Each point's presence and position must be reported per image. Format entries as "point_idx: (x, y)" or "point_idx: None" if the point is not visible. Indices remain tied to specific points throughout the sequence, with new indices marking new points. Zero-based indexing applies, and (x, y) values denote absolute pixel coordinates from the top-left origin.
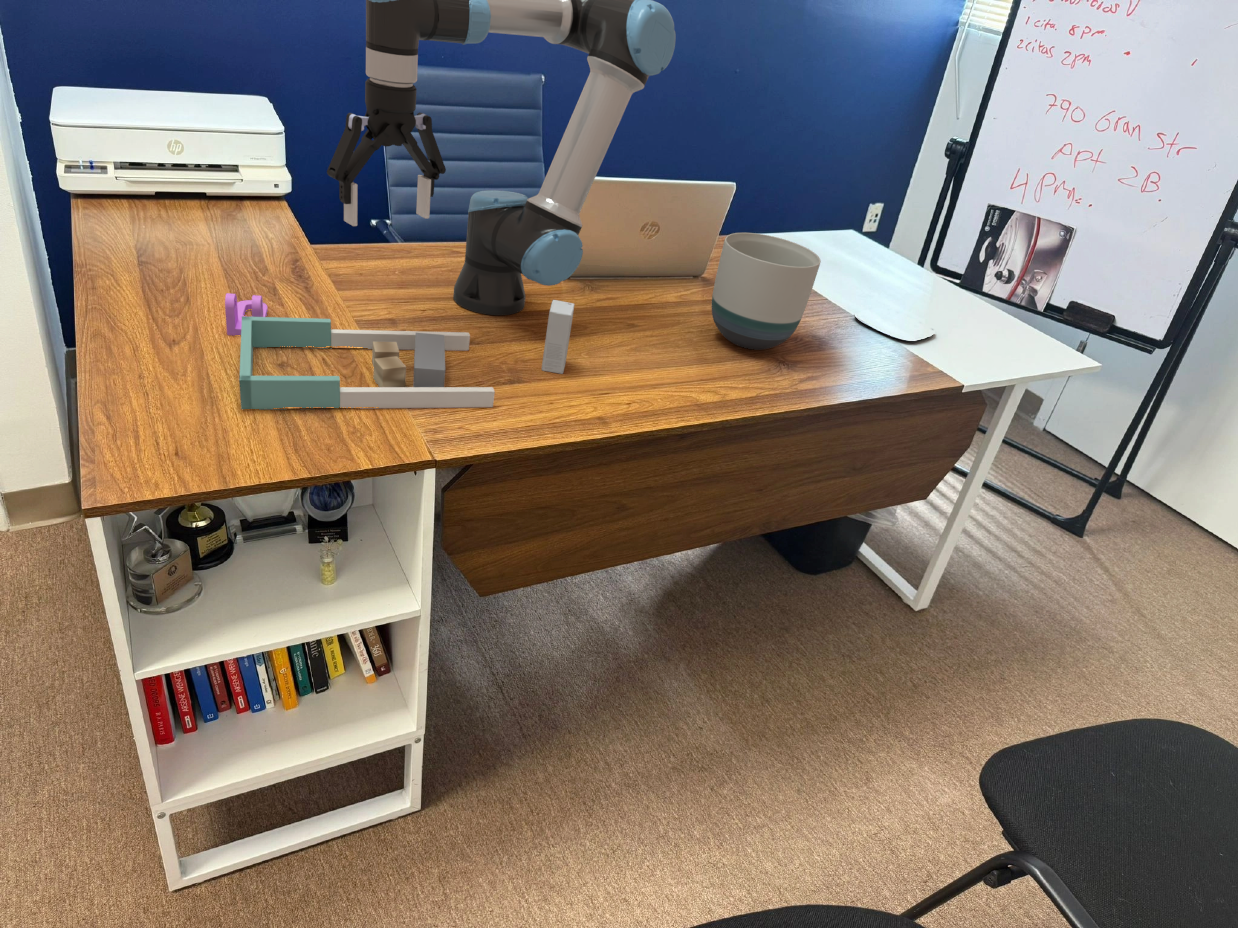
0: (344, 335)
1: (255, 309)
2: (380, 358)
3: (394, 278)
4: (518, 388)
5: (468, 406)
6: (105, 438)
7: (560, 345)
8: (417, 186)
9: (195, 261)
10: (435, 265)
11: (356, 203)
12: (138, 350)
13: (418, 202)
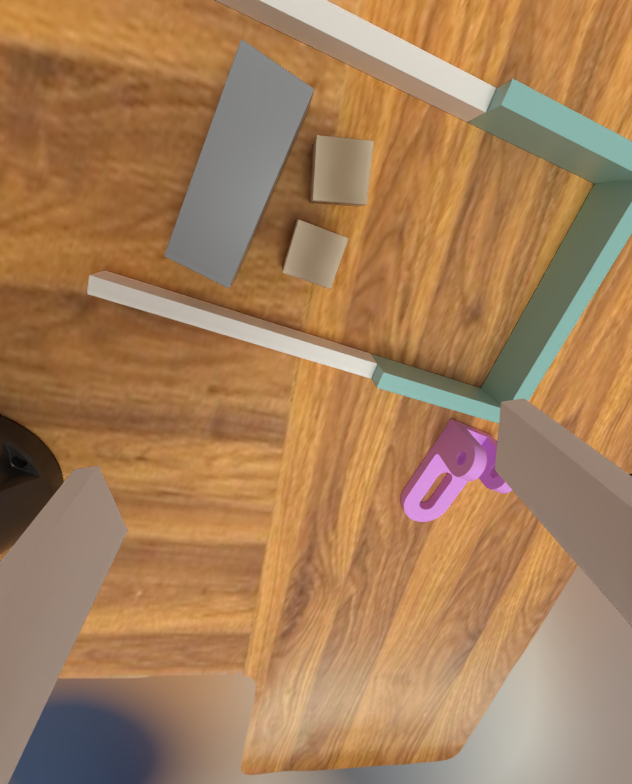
0: (354, 355)
1: (479, 447)
2: (352, 200)
3: (151, 575)
4: (37, 20)
5: None
6: None
7: None
8: (56, 679)
9: (415, 637)
10: None
11: (588, 467)
12: (616, 415)
13: (96, 571)
